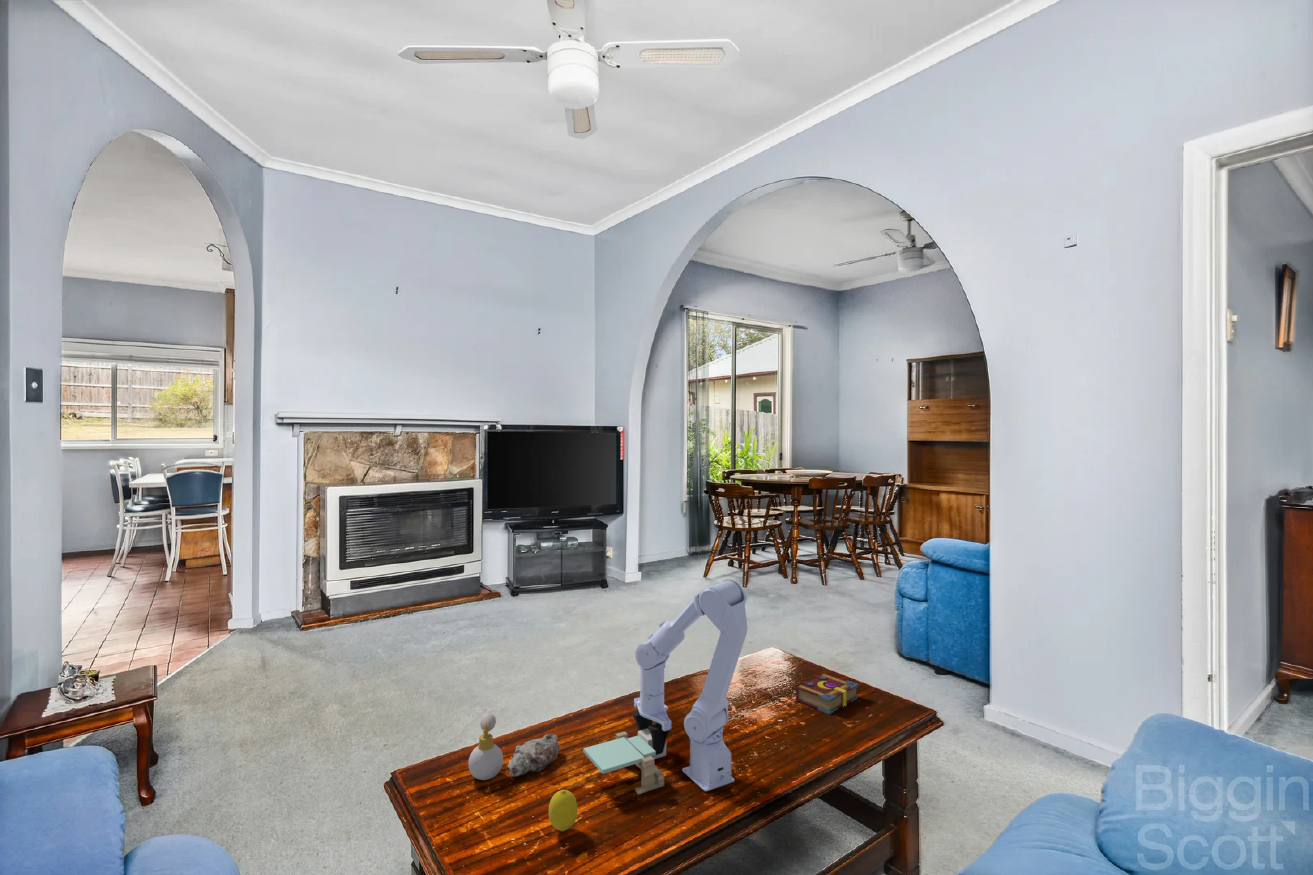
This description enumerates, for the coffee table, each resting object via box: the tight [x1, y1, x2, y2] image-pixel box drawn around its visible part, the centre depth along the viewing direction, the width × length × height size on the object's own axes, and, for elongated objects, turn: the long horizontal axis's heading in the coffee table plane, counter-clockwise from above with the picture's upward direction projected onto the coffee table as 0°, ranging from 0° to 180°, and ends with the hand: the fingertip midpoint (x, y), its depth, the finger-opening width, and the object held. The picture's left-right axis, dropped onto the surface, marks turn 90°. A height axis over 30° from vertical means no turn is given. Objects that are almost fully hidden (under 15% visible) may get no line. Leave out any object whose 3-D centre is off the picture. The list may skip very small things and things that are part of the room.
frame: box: [615, 731, 665, 795], centre depth 140 cm, size 14×6×7 cm, turn 30°
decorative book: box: [795, 673, 860, 715], centre depth 179 cm, size 11×16×5 cm
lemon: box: [548, 789, 578, 832], centre depth 120 cm, size 6×6×8 cm
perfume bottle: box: [468, 712, 504, 781], centre depth 140 cm, size 8×10×12 cm
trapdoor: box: [582, 735, 656, 775], centre depth 138 cm, size 11×14×2 cm
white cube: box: [637, 728, 667, 760], centre depth 149 cm, size 5×5×5 cm
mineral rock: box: [507, 732, 560, 777], centre depth 144 cm, size 15×8×4 cm, turn 133°
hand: (651, 747), depth 149 cm, fingers open, 6 cm apart
